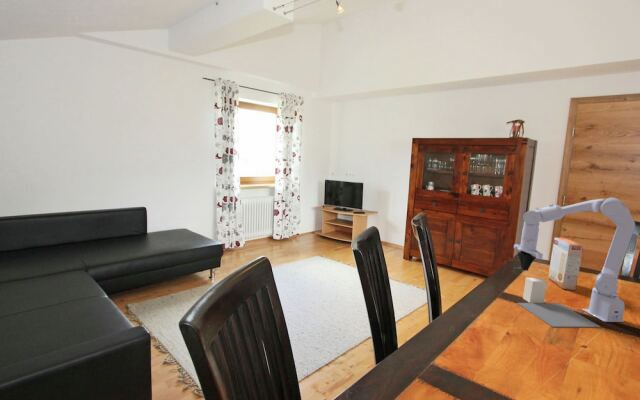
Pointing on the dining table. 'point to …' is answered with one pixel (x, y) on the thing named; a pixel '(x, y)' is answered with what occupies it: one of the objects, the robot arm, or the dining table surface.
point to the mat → (557, 315)
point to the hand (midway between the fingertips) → (524, 269)
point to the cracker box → (565, 263)
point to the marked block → (534, 290)
